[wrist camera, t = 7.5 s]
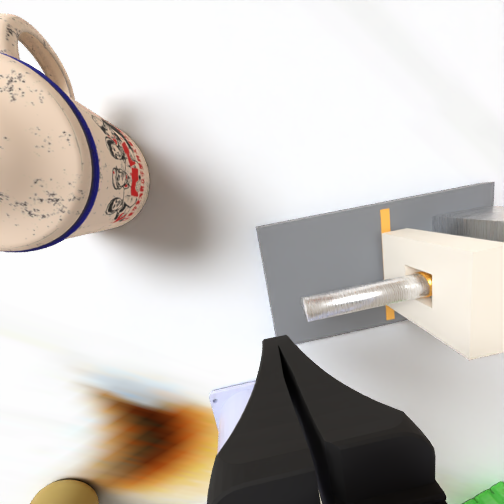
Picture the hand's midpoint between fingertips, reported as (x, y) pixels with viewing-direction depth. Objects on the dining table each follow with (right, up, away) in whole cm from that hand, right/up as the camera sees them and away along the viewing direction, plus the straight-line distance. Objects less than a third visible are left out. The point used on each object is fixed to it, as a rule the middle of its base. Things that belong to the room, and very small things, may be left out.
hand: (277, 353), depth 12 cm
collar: (+12, +4, +9) cm, 16 cm away
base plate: (+11, +4, +11) cm, 16 cm away
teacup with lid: (-14, +13, +7) cm, 20 cm away
